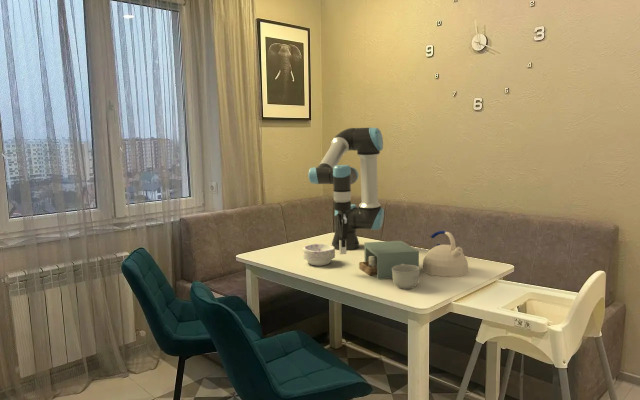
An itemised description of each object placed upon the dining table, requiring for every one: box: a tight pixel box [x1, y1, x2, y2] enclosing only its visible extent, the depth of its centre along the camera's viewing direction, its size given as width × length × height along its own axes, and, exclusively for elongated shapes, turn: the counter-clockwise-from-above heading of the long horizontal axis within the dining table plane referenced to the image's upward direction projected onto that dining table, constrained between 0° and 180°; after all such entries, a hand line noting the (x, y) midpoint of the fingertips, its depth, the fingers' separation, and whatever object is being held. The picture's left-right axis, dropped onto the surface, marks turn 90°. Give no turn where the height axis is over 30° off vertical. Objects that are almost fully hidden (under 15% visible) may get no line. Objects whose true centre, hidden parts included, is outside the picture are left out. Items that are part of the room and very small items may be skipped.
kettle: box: [421, 230, 469, 278], centre depth 214 cm, size 20×21×18 cm
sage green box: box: [364, 240, 420, 280], centre depth 215 cm, size 22×18×11 cm
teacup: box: [392, 264, 420, 290], centre depth 194 cm, size 14×11×8 cm
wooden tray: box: [358, 256, 377, 277], centre depth 216 cm, size 12×16×7 cm
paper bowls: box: [302, 243, 336, 267], centre depth 230 cm, size 15×15×8 cm
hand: (342, 253), depth 211 cm, fingers closed
